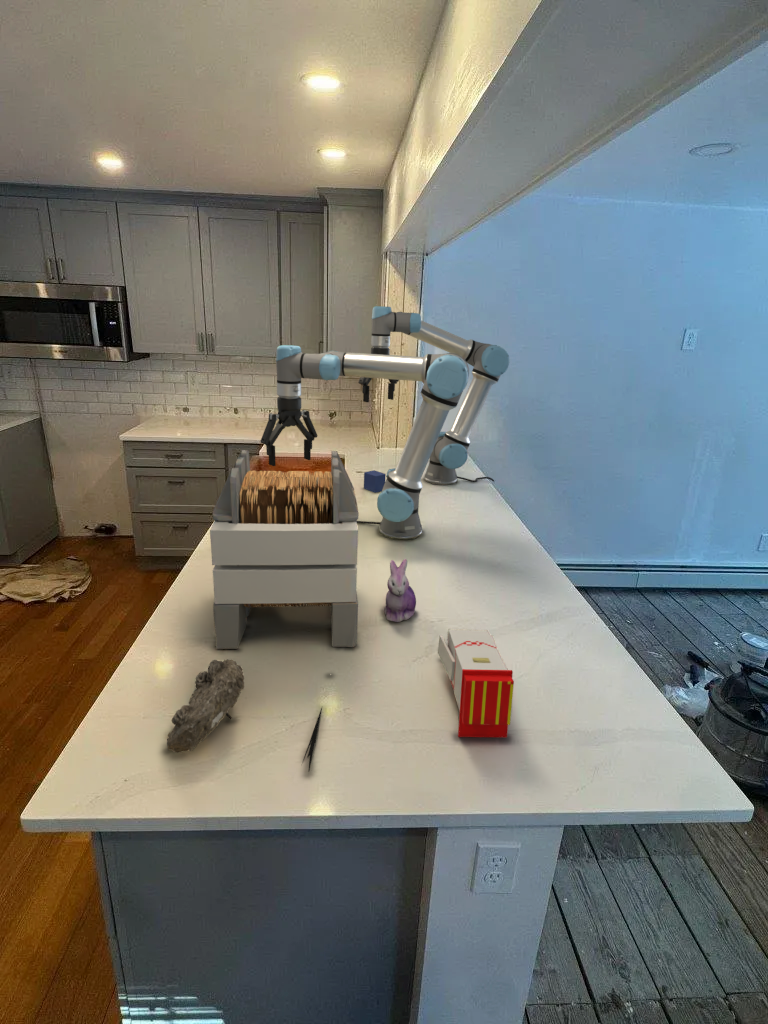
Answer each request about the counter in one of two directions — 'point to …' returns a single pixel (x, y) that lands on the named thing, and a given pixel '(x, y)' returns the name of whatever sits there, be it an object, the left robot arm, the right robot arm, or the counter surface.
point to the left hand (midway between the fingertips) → (290, 462)
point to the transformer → (285, 547)
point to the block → (374, 481)
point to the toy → (478, 682)
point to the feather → (313, 740)
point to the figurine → (399, 594)
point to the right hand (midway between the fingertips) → (378, 400)
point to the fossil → (206, 705)
